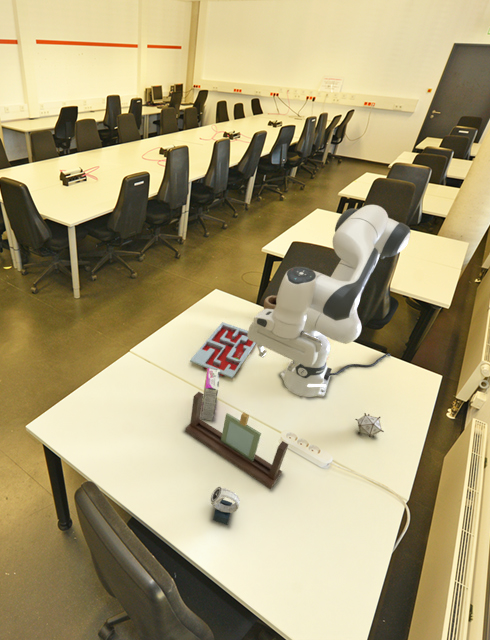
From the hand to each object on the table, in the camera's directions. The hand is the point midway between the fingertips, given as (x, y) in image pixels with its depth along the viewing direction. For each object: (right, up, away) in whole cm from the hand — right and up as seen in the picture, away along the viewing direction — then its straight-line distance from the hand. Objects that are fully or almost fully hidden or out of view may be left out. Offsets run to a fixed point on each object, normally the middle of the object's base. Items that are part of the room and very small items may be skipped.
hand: (276, 362), depth 116 cm
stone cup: (+26, +14, +83) cm, 88 cm away
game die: (+41, -28, +27) cm, 57 cm away
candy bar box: (-15, -21, +34) cm, 43 cm away
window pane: (-8, -31, +16) cm, 36 cm away
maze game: (-2, 0, +63) cm, 63 cm away
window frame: (-10, -32, +18) cm, 38 cm away
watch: (-16, -45, 0) cm, 48 cm away
